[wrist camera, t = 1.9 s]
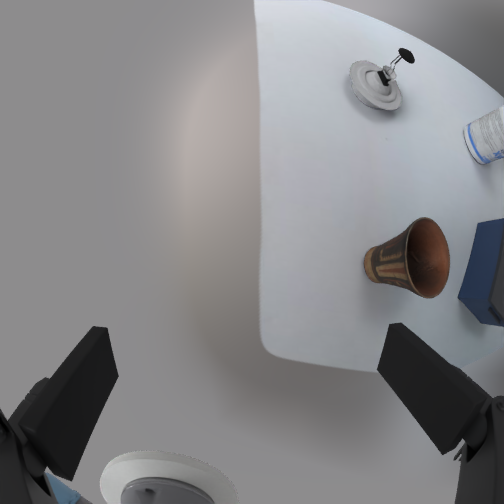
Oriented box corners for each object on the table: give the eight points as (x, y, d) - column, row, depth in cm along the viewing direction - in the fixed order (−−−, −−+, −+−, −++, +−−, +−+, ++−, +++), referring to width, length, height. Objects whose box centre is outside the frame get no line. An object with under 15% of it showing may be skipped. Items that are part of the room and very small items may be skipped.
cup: (413, 256, 36) (464, 252, 26) (384, 306, 34) (435, 315, 24) (377, 214, 35) (427, 198, 25) (343, 264, 33) (393, 262, 24)
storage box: (480, 327, 39) (510, 331, 31) (455, 300, 37) (490, 303, 29) (500, 253, 41) (527, 251, 33) (477, 219, 40) (507, 213, 32)
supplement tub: (477, 171, 41) (528, 153, 27) (457, 130, 41) (505, 105, 26) (489, 158, 43) (533, 141, 28) (470, 121, 42) (513, 99, 28)
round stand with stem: (447, 87, 25) (418, 36, 25) (400, 71, 23) (369, 19, 24) (400, 120, 37) (380, 74, 38) (354, 115, 35) (334, 66, 36)
